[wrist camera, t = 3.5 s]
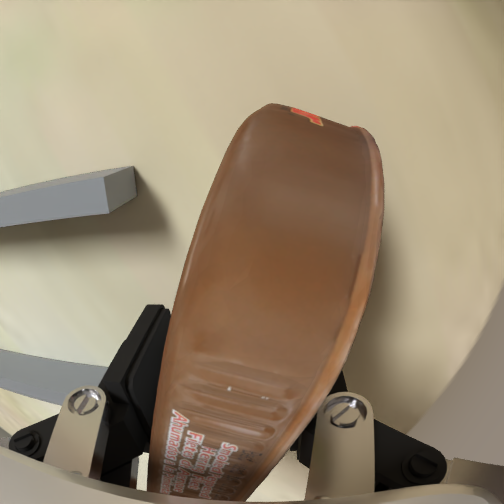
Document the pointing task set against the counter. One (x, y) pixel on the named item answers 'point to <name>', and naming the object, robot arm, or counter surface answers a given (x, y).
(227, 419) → the tin
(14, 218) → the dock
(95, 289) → the counter surface
